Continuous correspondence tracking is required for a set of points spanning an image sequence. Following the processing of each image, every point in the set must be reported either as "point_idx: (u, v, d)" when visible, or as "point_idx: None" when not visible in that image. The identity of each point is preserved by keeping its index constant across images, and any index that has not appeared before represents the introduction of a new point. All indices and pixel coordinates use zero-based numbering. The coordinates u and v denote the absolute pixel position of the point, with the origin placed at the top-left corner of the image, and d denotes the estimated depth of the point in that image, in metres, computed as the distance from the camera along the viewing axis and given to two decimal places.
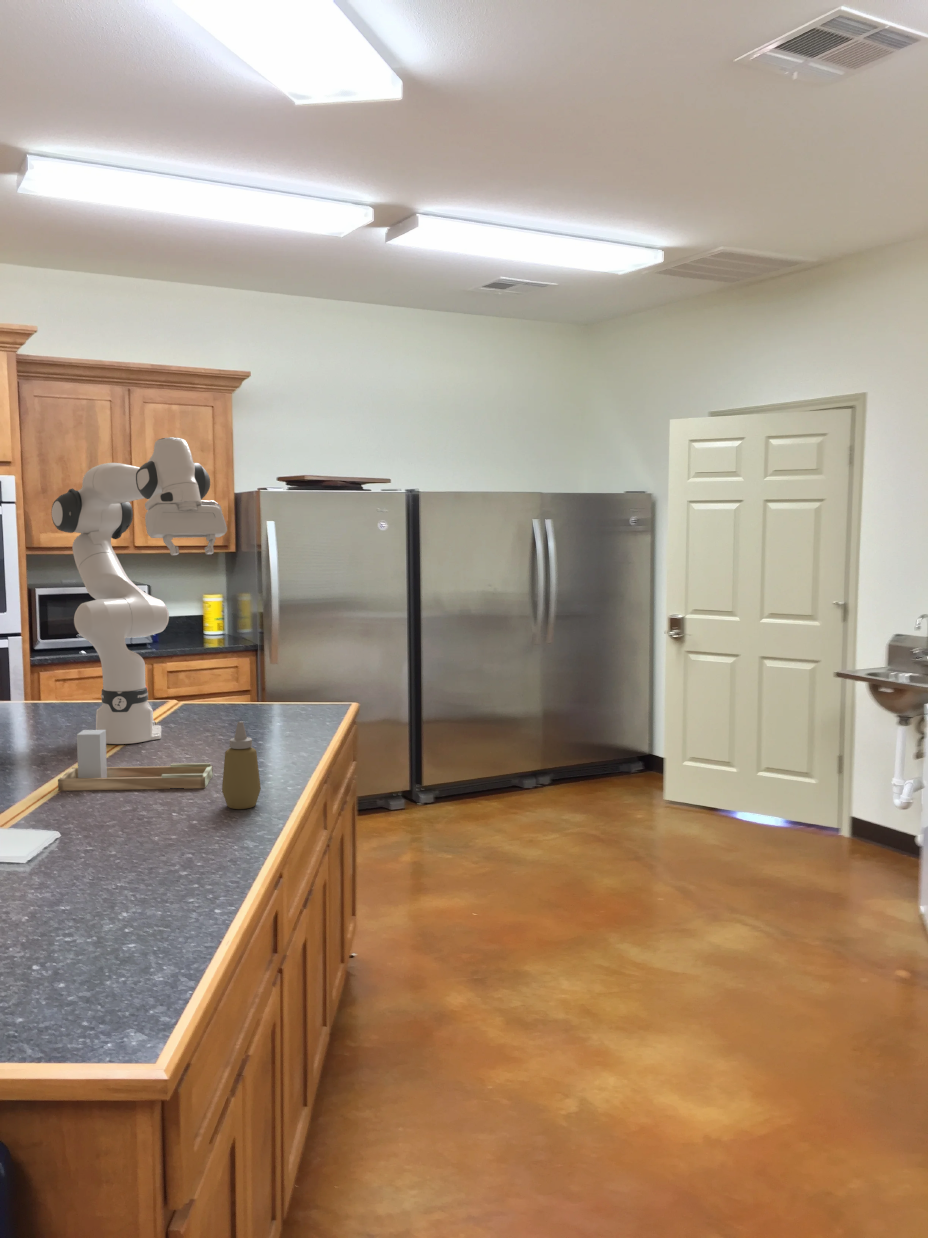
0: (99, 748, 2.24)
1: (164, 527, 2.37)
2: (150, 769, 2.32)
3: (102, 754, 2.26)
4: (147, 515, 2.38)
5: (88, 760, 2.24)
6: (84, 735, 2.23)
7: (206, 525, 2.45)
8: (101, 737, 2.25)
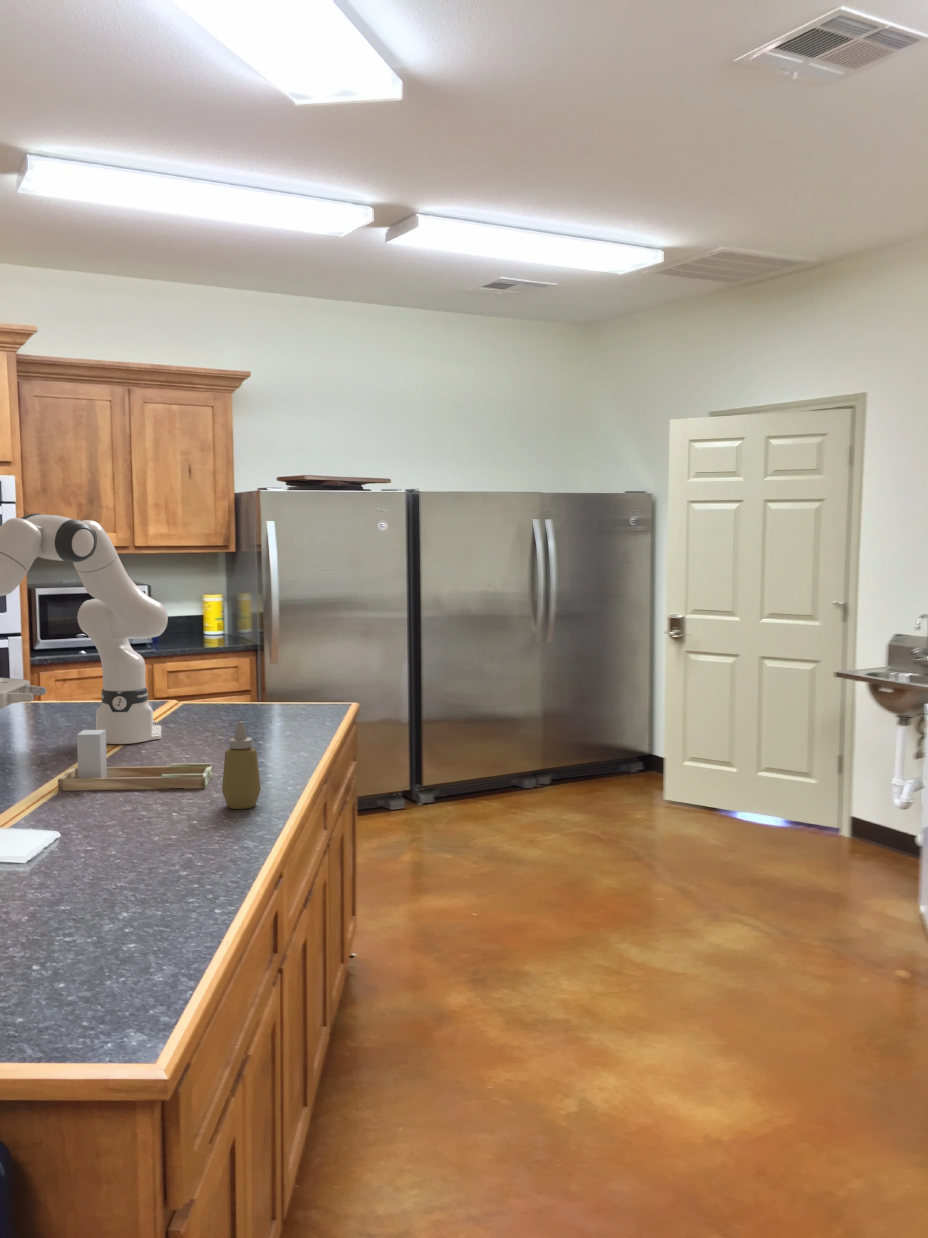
0: (99, 748, 2.24)
1: None
2: (150, 769, 2.32)
3: (102, 754, 2.26)
4: None
5: (88, 760, 2.24)
6: (84, 735, 2.23)
7: None
8: (101, 737, 2.25)
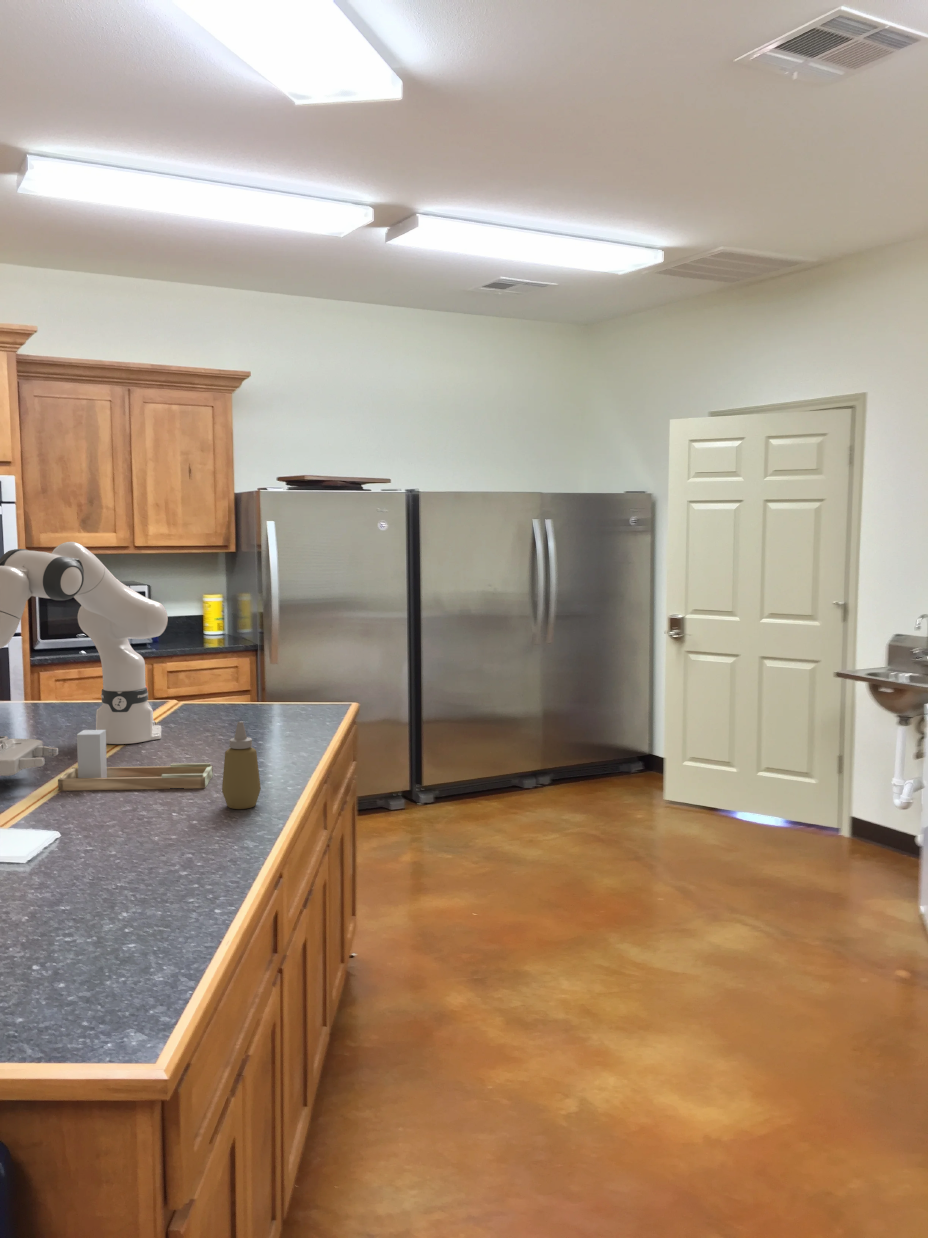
0: (99, 748, 2.24)
1: None
2: (150, 769, 2.32)
3: (102, 754, 2.26)
4: None
5: (88, 760, 2.24)
6: (84, 735, 2.23)
7: None
8: (101, 737, 2.25)
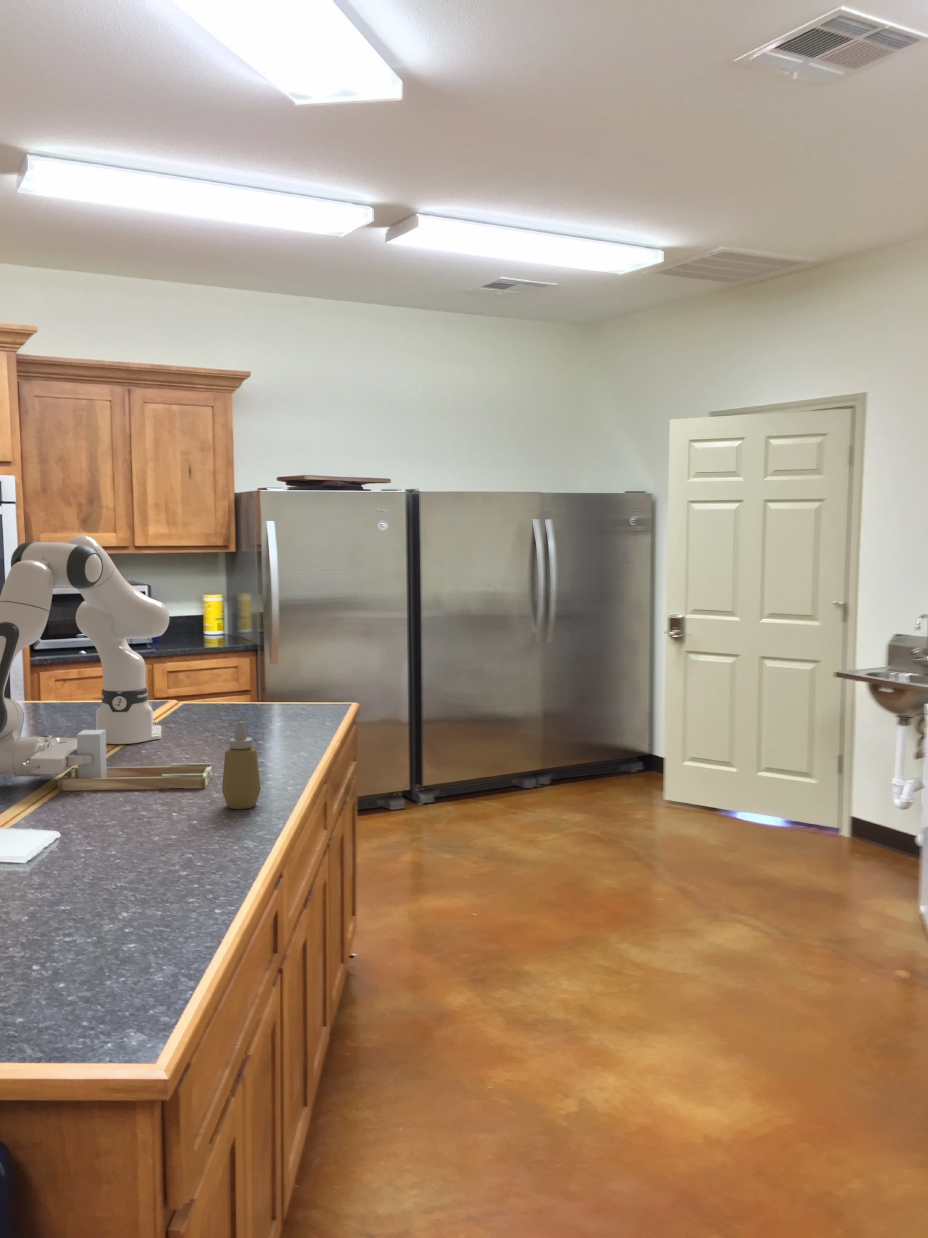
0: (99, 748, 2.24)
1: None
2: (150, 769, 2.32)
3: (102, 754, 2.26)
4: None
5: None
6: (84, 735, 2.23)
7: None
8: (101, 737, 2.25)
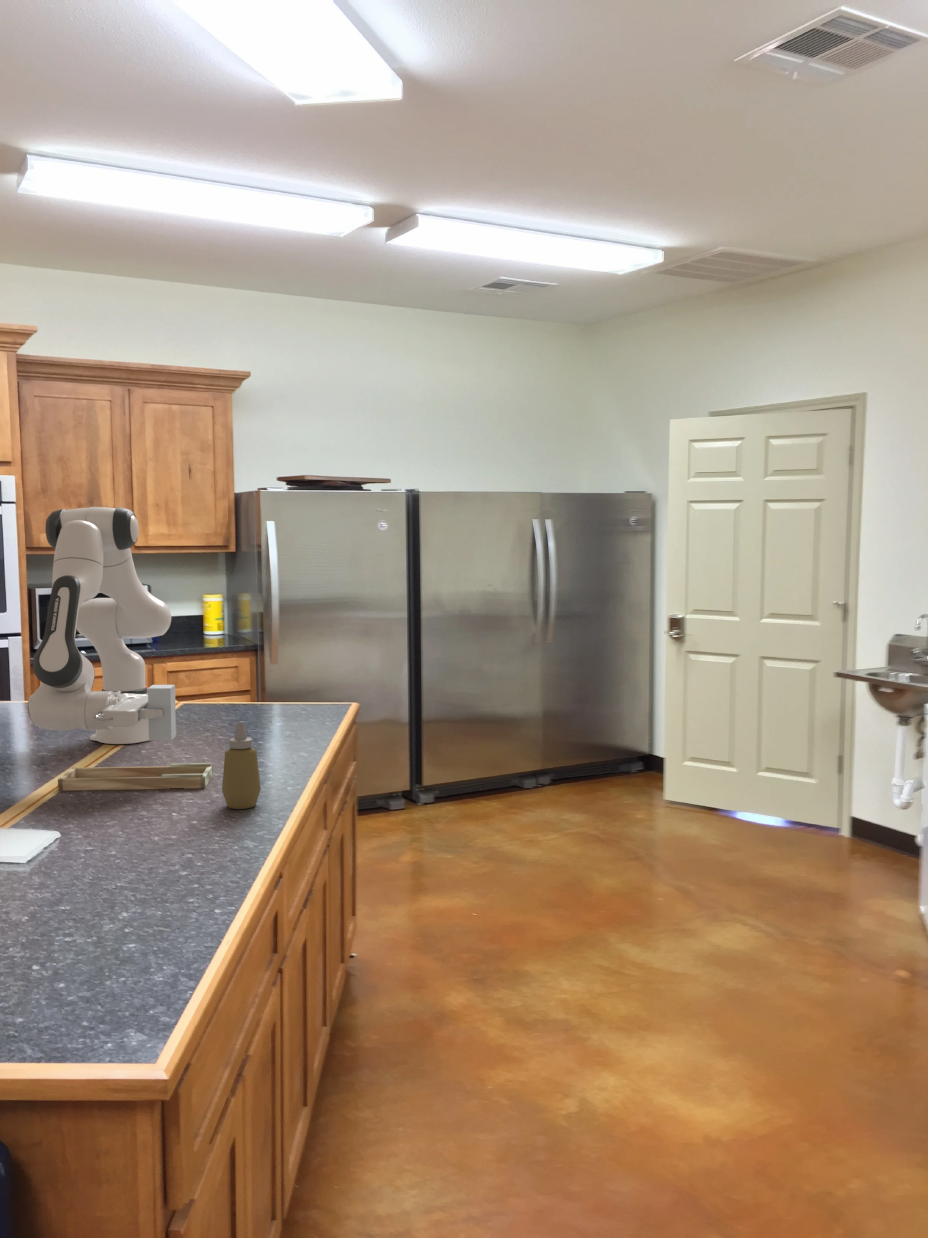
0: (170, 702, 2.24)
1: None
2: (150, 769, 2.32)
3: (172, 708, 2.26)
4: None
5: None
6: (155, 689, 2.24)
7: None
8: (171, 691, 2.25)
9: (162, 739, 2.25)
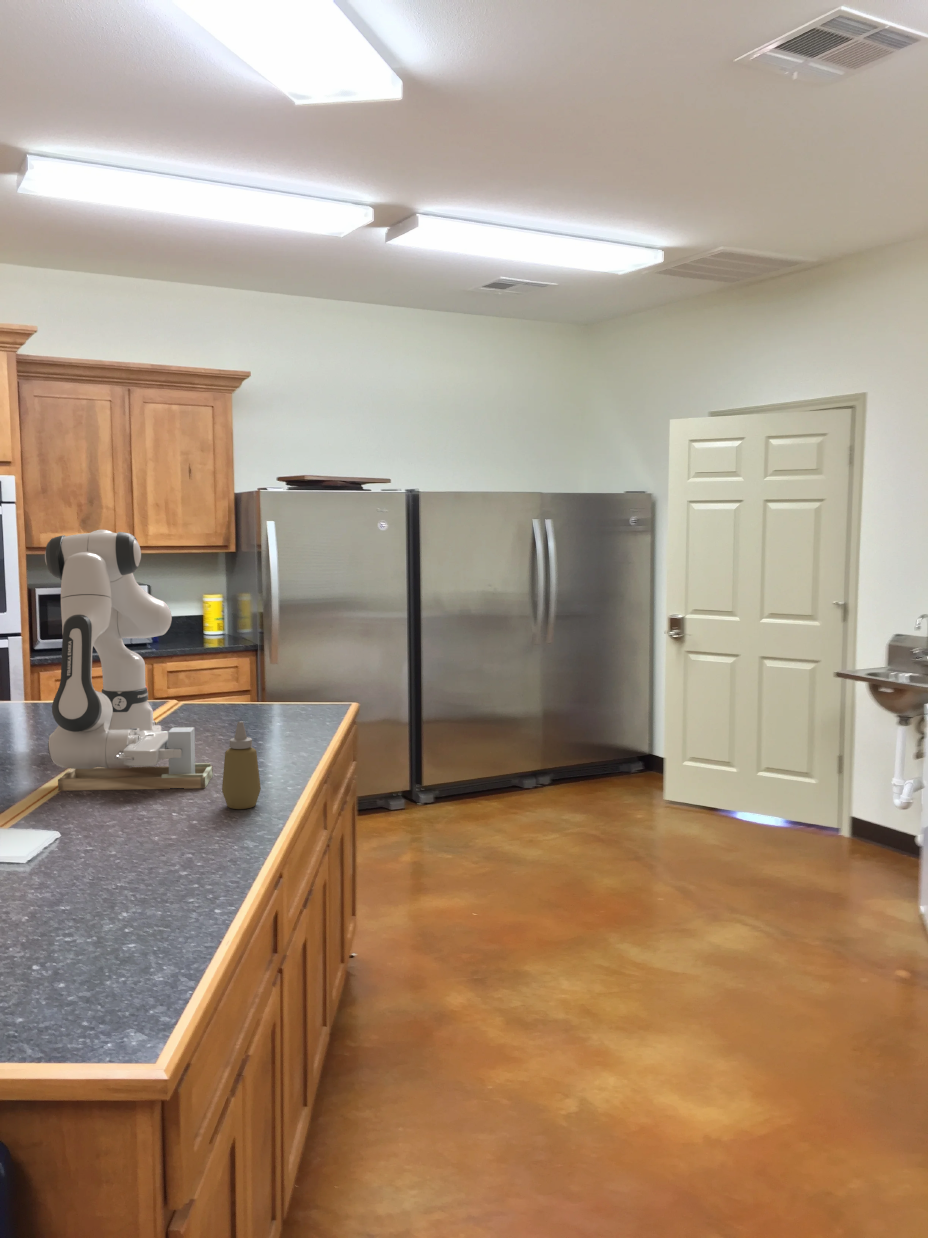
0: (190, 745, 2.26)
1: None
2: (150, 769, 2.32)
3: (192, 751, 2.28)
4: None
5: None
6: (175, 732, 2.25)
7: None
8: (191, 735, 2.27)
9: None
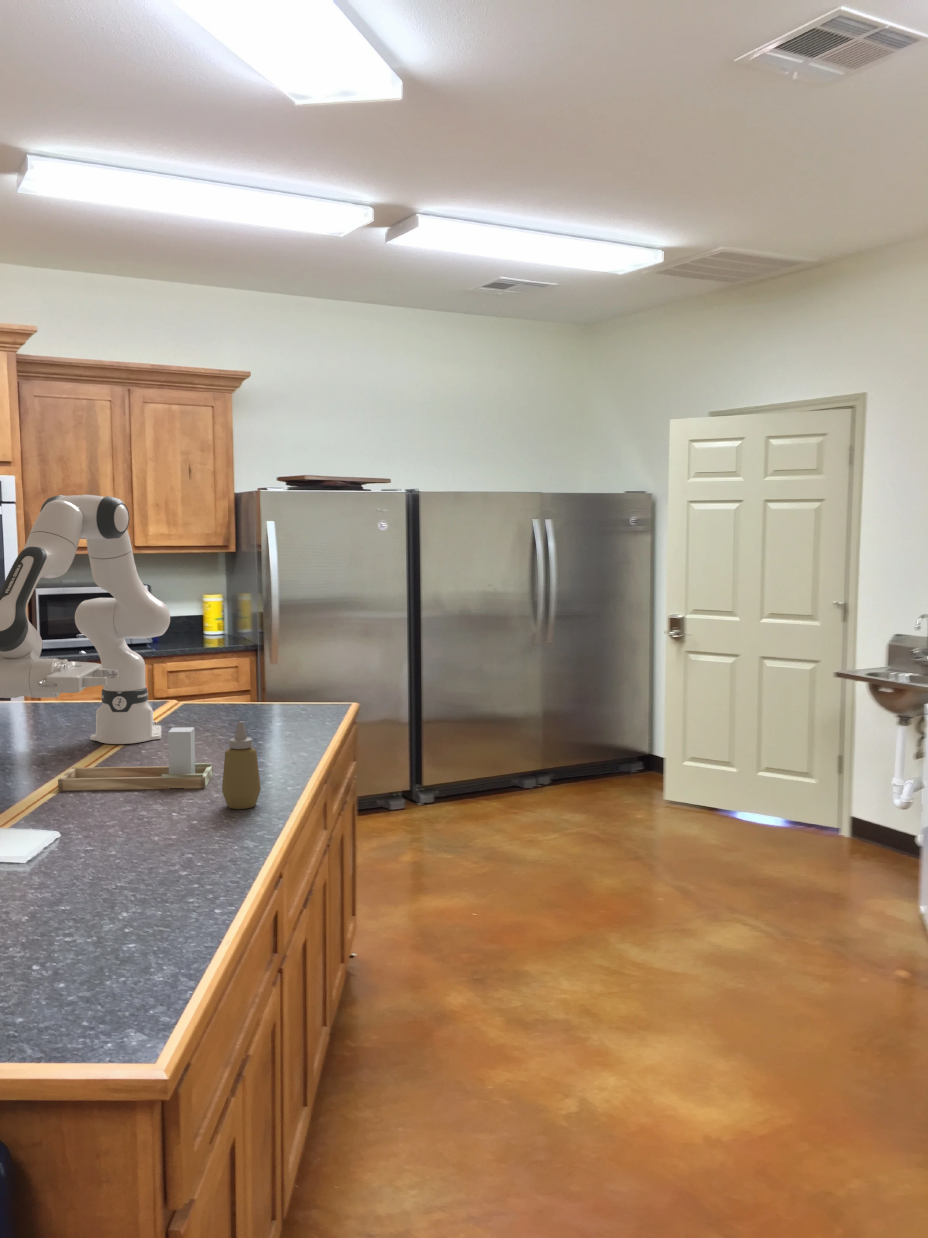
0: (190, 745, 2.26)
1: None
2: (150, 769, 2.32)
3: (192, 751, 2.28)
4: None
5: (178, 757, 2.26)
6: (175, 732, 2.25)
7: None
8: (191, 735, 2.27)
9: None
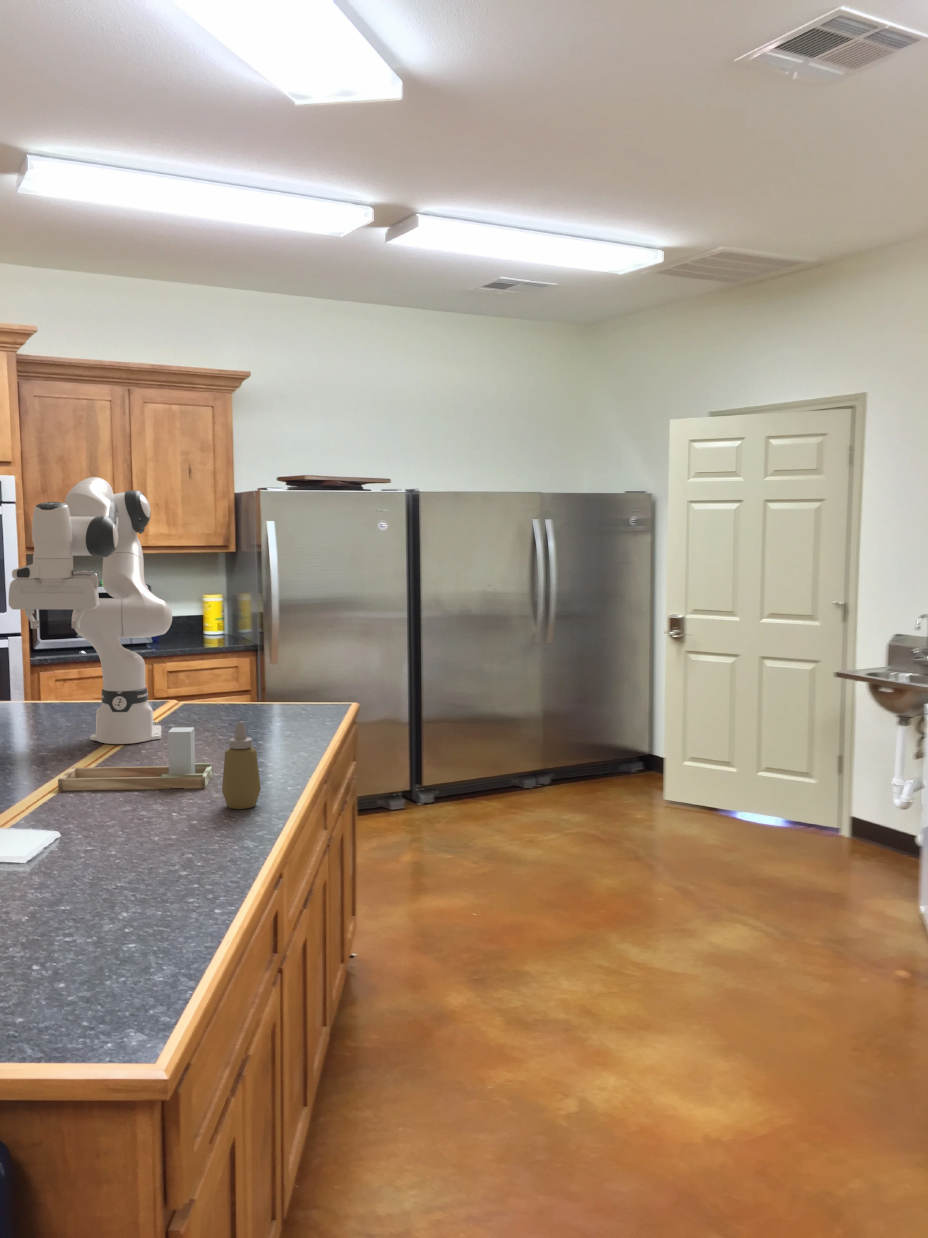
0: (190, 745, 2.26)
1: (20, 602, 2.35)
2: (150, 769, 2.32)
3: (192, 751, 2.28)
4: None
5: (178, 757, 2.26)
6: (175, 732, 2.25)
7: (70, 600, 2.36)
8: (191, 735, 2.27)
9: None
